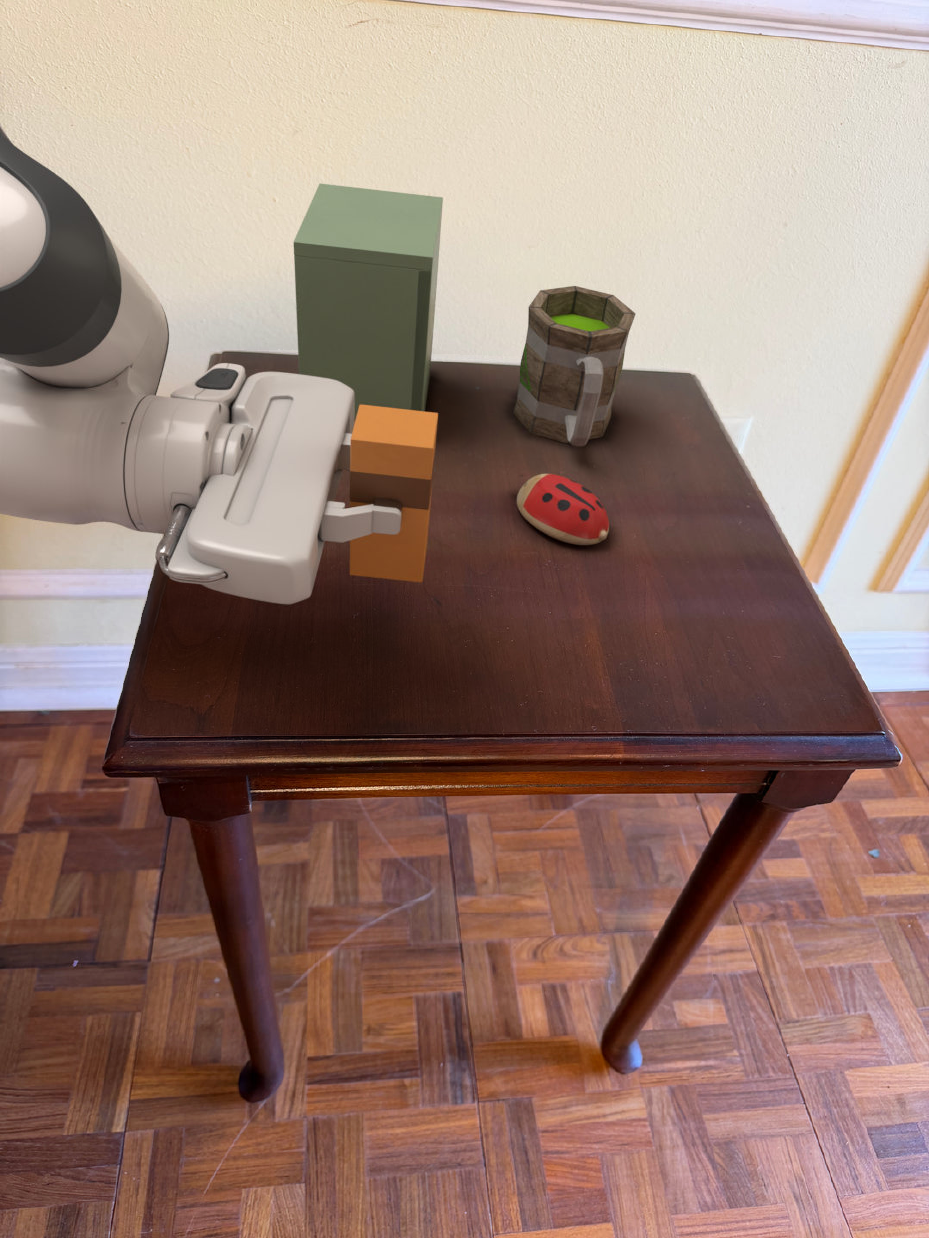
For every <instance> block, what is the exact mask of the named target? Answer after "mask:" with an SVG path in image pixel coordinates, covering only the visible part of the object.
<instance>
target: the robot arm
mask: <svg viewBox="0 0 929 1238" xmlns="http://www.w3.org/2000/svg"><path fill="white" fill-rule="evenodd" d="M169 344H170V330H169V323H168V318H167V315H166V312H165V310H164V307H163V305H162V302H161V301H160V300H159V298H158V296H157V295H156V293H155V292H154V291H153V289H152V287H151V286H150V285H149V284H148V282H147V281H146V279H144V277H143V276H142V275H141V274H140V272H139V271H138V270H137V269H136V267H135V266H134V265H133V263H132V262H130V260H129V259H128V258H127V257H126V255H124V253H123V252H122V250H121V249H120V248H119V247H118V246H117V245H116V243H115V242H114V240H112V238H111V237H110V236H109V234H108V233H107V232H106V230H105V228H104V227H103V225H102V223H101V222H100V220H99V219H98V217H97V216H96V215H95V213H94V212H93V210H92V208H91V206H90V205H89V204H88V203H87V201H86V200H85V199H84V198H83V197H82V196H81V194H80V193H79V192H78V191H77V190H76V189H75V188H74V187H72V185H70V184H69V183H68V182H67V181H65V179H64V178H62V177H60V176H59V175H58V174H56V172H54V171H52V170H50V168H48V167H47V166H45V165H43V164H42V163H40V162H39V161H38V160H35V159H34V158H33V157H31V156H30V155H28V154H27V153H26V152H24V151H23V150H21V149H20V148H18V146H15V144H14V143H13V142H12V140H10V138H9V137H8V135H7V133H6V131H5V130H4V127H3V126H2V125H1V124H0V514H1V515H4V516H10V517H15V518H20V519H27V520H33V521H39V522H40V521H41V522H47V523H56V524H63V525H64V524H65V525H72V526H73V525H74V526H79V525H87V524H93V523H110V524H111V523H112V524H115V525H119V526H122V527H124V528H126V529H129V530H131V531H135V532H140V533H149V534H150V533H151V534H159V535H164V536H163V537H162V539H160V541H159V542H158V544H157V546H156V548H155V549H156V550H155V560H156V561H157V562H158V564H159V567H160V569H161V571H162V572H163V573H164V575H166V576H168V577H169V579H170V580H172V581H175V582H178V583H185V584H196V585H201V586H203V587H205V588H207V589H210V590H212V591H216V592H220V593H223V594H226V595H232V596H235V597H239V598H245V599H251V600H255V601H258V602H259V601H260V602H265V603H266V602H267V603H272V604H279V605H293V604H296V603H299V602H302V601H305V600H307V599H309V598H310V597H311V595H312V593H313V590H314V586H315V583H316V577H317V573H318V570H319V566H320V563H321V559H322V555H323V551H324V547H325V542H332V543H342V544H343V543H346V542H350V540H353V539H356V538H360V537H363V536H366V535H369V534H371V533H380V534H390V535H395V534H398V533H399V532H400V528H401V521H402V510H403V504H402V502H401V501H399V500H397V499H390V500H389V499H387V498H379V497H375V501H374V505H373V504H370V505H365V506H359V507H353V508H350V507H349V508H346V503H345V502H343V501H342V502H341V501H336V500H337V496H338V491H339V487H340V484H341V480H342V476H343V472H344V471H348V472H350V449H351V436H352V432H353V428H354V421H355V394H354V391H353V390H352V389H351V388H350V387H348V386H347V385H345V384H343V383H342V382H340V381H337V380H334V379H329V378H323V377H316V376H309V375H301V374H299V373H293V372H292V373H291V372H282V371H281V372H280V371H261V372H257V373H254V374H252V375H250V376H249V377H247V374H246V368H245V367H244V366H243V365H241V364H237V363H236V364H235V363H230V362H229V363H228V362H221V363H217V364H215V365H213V366H212V367H211V368H209V369H208V370H206V372H204V373H203V374H201V376H199V377H197V378H196V379H195V380H193V381H191V382H190V383H189V384H186V385H184V386H182V387H180V388H178V389H176V390H174V391H172V392H171V393H170V396H165V395H157V393H158V390H159V386H160V382H161V380H162V376H163V373H164V368H165V365H166V360H167V355H168V351H169Z"/></svg>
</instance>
